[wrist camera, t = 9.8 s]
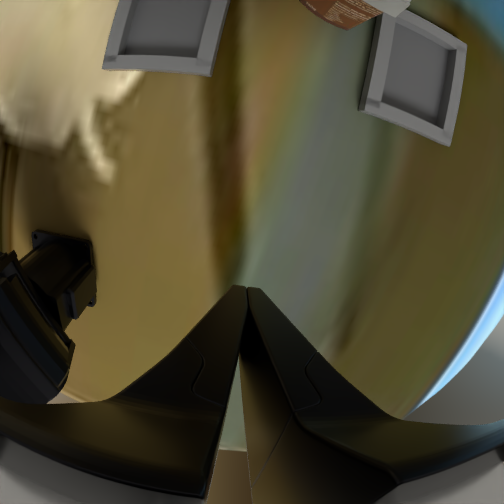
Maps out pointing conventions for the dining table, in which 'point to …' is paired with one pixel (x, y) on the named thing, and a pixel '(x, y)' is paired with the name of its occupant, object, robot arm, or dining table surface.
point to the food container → (353, 10)
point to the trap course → (377, 76)
